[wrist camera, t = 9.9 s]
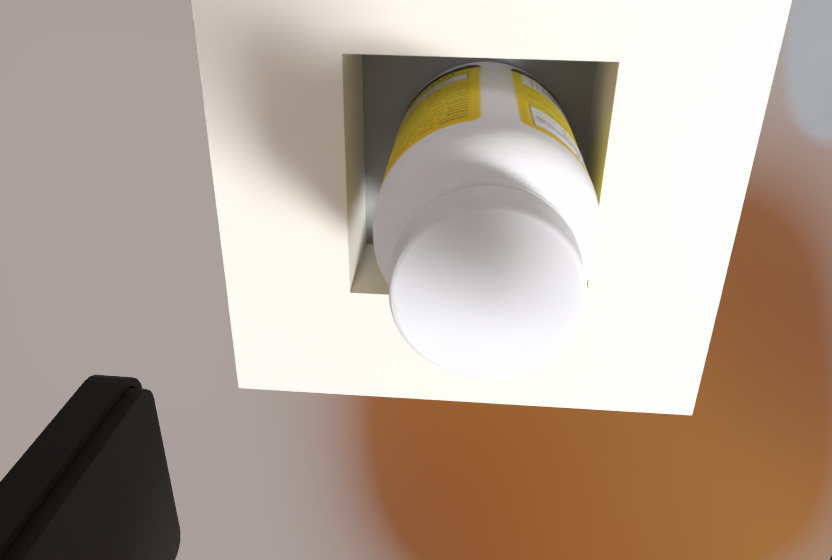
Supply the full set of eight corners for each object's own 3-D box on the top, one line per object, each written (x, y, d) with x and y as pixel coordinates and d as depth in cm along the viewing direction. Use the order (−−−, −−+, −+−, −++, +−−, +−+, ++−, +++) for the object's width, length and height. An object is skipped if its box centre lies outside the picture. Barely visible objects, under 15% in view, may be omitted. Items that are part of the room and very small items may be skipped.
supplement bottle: (388, 210, 24) (338, 384, 16) (410, 45, 22) (365, 144, 13) (548, 237, 24) (586, 425, 16) (589, 74, 22) (661, 191, 13)
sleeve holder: (751, -109, 20) (817, -109, 16) (661, 338, 27) (692, 415, 23) (233, -116, 21) (176, -118, 17) (273, 317, 28) (238, 387, 24)
